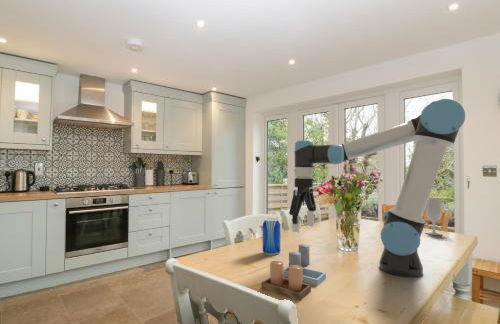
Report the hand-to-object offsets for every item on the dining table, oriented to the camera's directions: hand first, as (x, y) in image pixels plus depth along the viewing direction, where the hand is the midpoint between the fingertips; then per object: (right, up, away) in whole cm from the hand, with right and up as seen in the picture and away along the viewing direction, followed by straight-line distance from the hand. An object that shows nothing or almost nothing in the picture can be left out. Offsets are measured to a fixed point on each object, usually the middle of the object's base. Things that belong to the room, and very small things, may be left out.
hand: (303, 228), depth 116 cm
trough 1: (-10, -15, -25) cm, 31 cm away
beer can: (-12, -16, +15) cm, 25 cm away
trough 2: (-3, -15, -14) cm, 21 cm away
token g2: (0, -15, 0) cm, 15 cm away
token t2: (-8, -14, -27) cm, 31 cm away
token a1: (-13, -14, -23) cm, 30 cm away
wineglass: (+90, -16, +53) cm, 105 cm away
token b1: (-6, -14, -12) cm, 20 cm away
